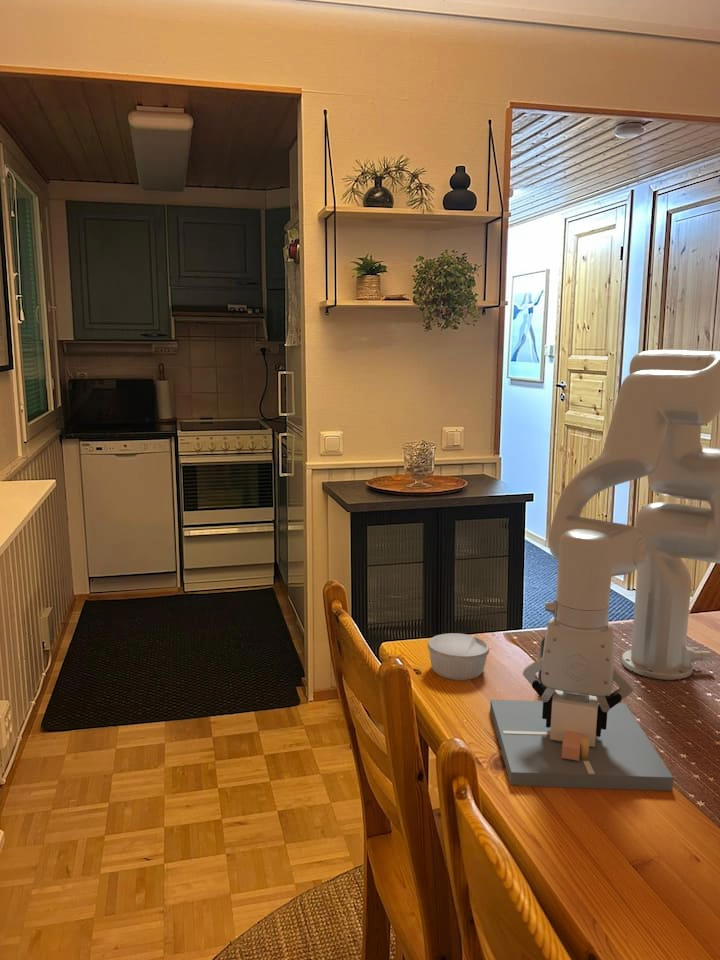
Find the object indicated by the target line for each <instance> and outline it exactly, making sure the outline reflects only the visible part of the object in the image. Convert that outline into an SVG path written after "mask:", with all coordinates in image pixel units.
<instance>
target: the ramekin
mask: <svg viewBox="0 0 720 960" xmlns="http://www.w3.org/2000/svg"><path fill="white" fill-rule="evenodd" d="M427 648H428V650H429V658H430V664H431V665H430V666H431V668H432V670H433V671H434V673H435V674H436V675H438V676H440V677H441V678H445V679H449V680H453V681H469V680H473V679H476V678H478V677H480V675H482V674H483V672H484V670H485V666H486V662H487V657H488V655H489V653H490V646H489V644H488V643H487V641H485V640H483V639H482V638H480V637H477V636H475V635H470V634H466V633H460V632H459V633H457V632H456V633H453V632H451V633H449V632H448V633H442V634H437V635H434V636H433V637H431V638H430V639H428V642H427Z"/></svg>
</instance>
